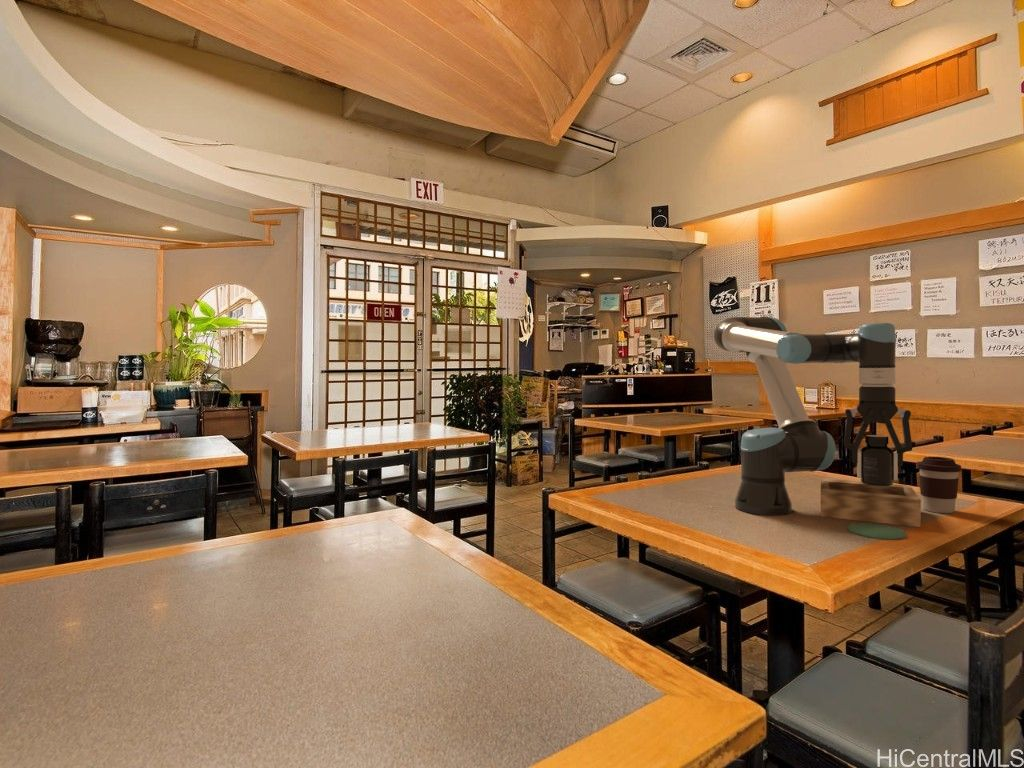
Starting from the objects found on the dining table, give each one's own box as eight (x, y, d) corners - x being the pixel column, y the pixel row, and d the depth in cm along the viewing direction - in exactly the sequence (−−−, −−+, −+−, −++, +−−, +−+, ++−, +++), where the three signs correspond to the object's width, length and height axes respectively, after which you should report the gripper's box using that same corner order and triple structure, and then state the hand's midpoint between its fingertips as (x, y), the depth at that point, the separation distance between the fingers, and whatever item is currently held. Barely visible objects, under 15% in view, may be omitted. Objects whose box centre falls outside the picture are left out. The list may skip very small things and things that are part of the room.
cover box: (820, 516, 152) (820, 491, 151) (820, 501, 168) (820, 478, 168) (920, 526, 140) (920, 499, 140) (910, 509, 157) (910, 485, 157)
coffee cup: (944, 506, 160) (945, 455, 160) (969, 515, 151) (970, 461, 150) (908, 505, 161) (909, 455, 161) (931, 514, 151) (931, 461, 151)
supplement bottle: (900, 486, 133) (900, 437, 132) (871, 486, 133) (871, 437, 133) (881, 480, 140) (881, 434, 139) (854, 481, 140) (854, 434, 139)
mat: (849, 535, 134) (849, 533, 134) (847, 523, 145) (847, 520, 145) (909, 542, 128) (909, 540, 128) (902, 529, 139) (902, 526, 139)
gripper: (831, 386, 137) (831, 477, 138) (928, 386, 127) (928, 484, 128) (830, 385, 144) (830, 472, 144) (923, 385, 134) (923, 478, 135)
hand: (876, 477), depth 136 cm, fingers closed on supplement bottle, 7 cm apart
